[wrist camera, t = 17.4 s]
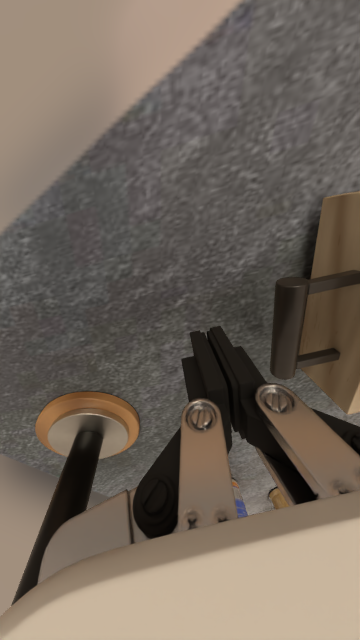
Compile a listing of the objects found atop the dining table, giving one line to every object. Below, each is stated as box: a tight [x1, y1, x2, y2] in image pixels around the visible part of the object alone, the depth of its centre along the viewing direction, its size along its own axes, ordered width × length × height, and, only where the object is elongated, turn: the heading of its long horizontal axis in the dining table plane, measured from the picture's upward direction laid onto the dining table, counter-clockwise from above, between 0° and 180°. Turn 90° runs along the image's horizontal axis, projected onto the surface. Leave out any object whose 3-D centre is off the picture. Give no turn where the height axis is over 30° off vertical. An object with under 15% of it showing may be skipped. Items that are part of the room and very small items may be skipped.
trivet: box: [35, 391, 140, 457], centre depth 17 cm, size 9×9×1 cm
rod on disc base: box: [11, 408, 129, 606], centre depth 13 cm, size 7×7×10 cm
